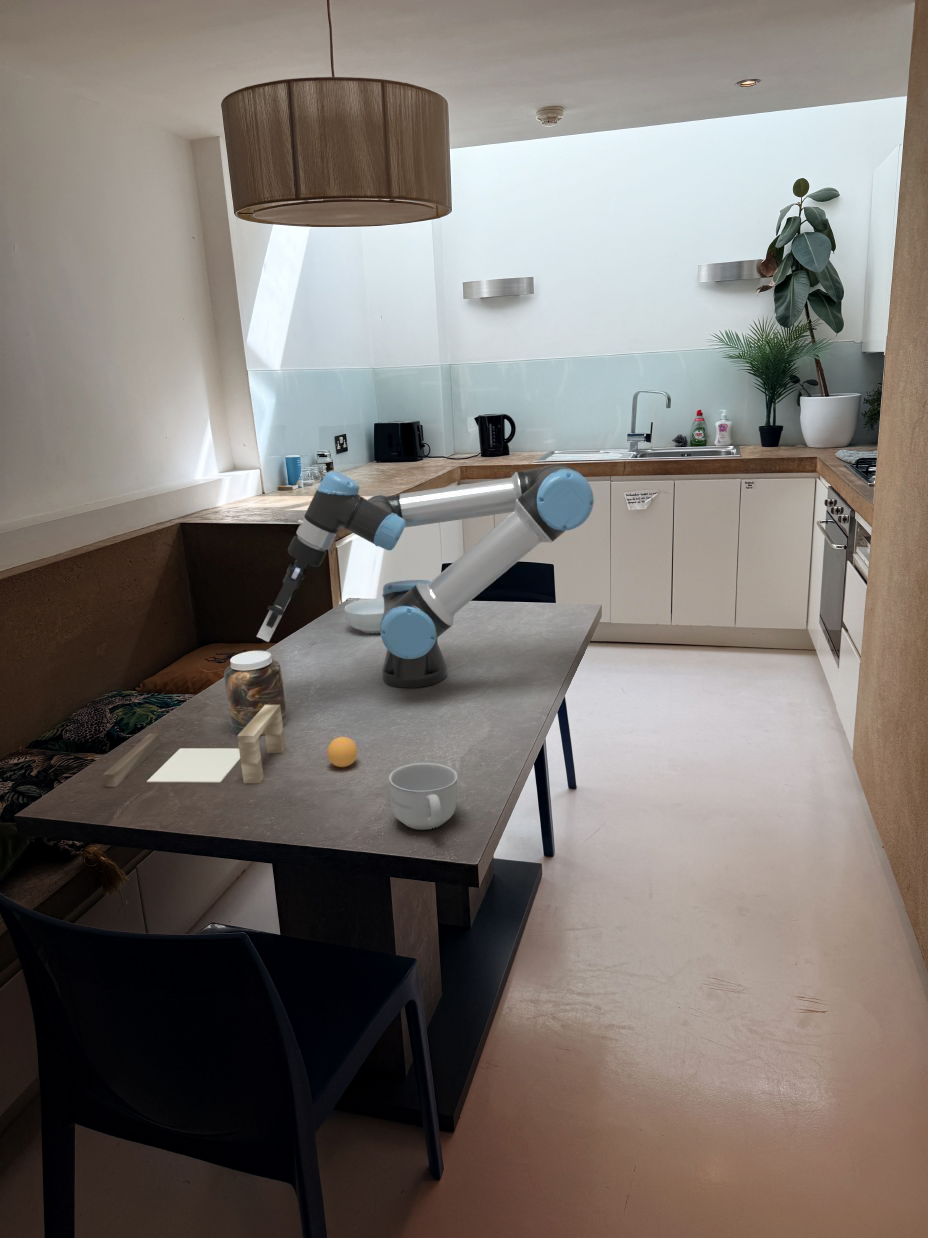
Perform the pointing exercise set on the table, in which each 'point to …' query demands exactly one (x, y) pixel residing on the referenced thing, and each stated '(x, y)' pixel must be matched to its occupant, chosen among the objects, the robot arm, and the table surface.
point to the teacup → (423, 794)
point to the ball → (342, 752)
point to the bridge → (249, 742)
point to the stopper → (131, 760)
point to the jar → (253, 687)
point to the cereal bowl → (365, 615)
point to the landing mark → (198, 765)
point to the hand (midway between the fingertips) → (267, 629)
